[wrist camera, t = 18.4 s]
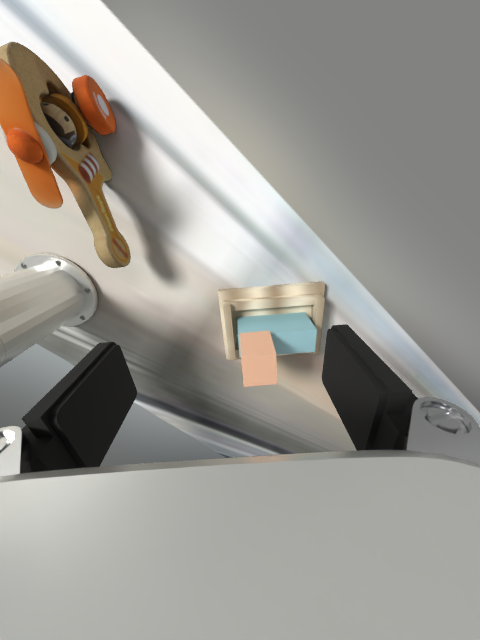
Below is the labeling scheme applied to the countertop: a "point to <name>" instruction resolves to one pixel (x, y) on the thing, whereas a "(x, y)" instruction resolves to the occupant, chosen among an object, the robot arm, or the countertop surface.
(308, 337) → the light blue block
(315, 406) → the countertop surface
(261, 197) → the countertop surface
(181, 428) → the countertop surface
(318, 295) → the jig
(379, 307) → the countertop surface
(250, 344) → the peach brick
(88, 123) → the toy helicopter
